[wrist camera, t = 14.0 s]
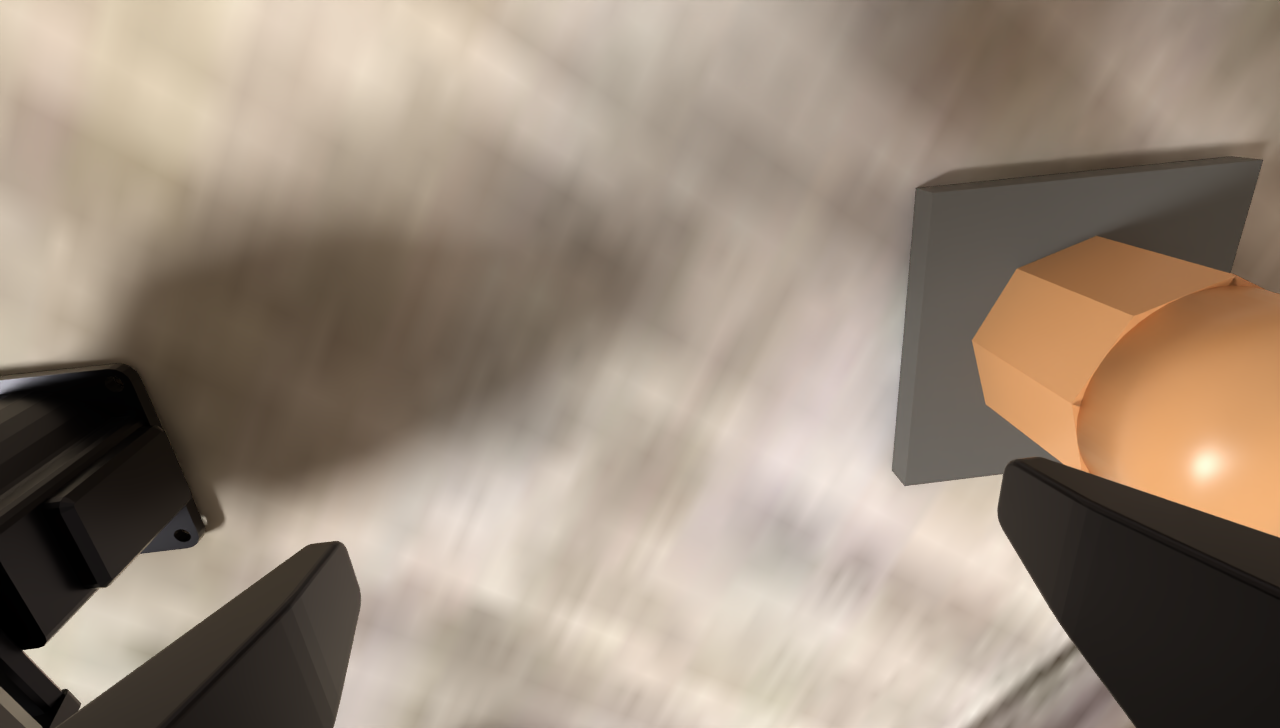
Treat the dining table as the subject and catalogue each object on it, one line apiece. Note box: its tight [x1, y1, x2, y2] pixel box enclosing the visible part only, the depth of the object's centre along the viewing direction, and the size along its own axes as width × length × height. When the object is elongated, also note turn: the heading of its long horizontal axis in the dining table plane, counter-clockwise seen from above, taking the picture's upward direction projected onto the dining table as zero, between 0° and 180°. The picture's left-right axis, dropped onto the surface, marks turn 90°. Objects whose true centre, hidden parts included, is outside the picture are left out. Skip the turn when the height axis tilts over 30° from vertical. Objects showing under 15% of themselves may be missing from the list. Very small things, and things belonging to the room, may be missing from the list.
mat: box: [892, 157, 1263, 486], centre depth 21 cm, size 10×10×1 cm
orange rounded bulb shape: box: [972, 236, 1280, 537], centre depth 17 cm, size 6×6×8 cm
